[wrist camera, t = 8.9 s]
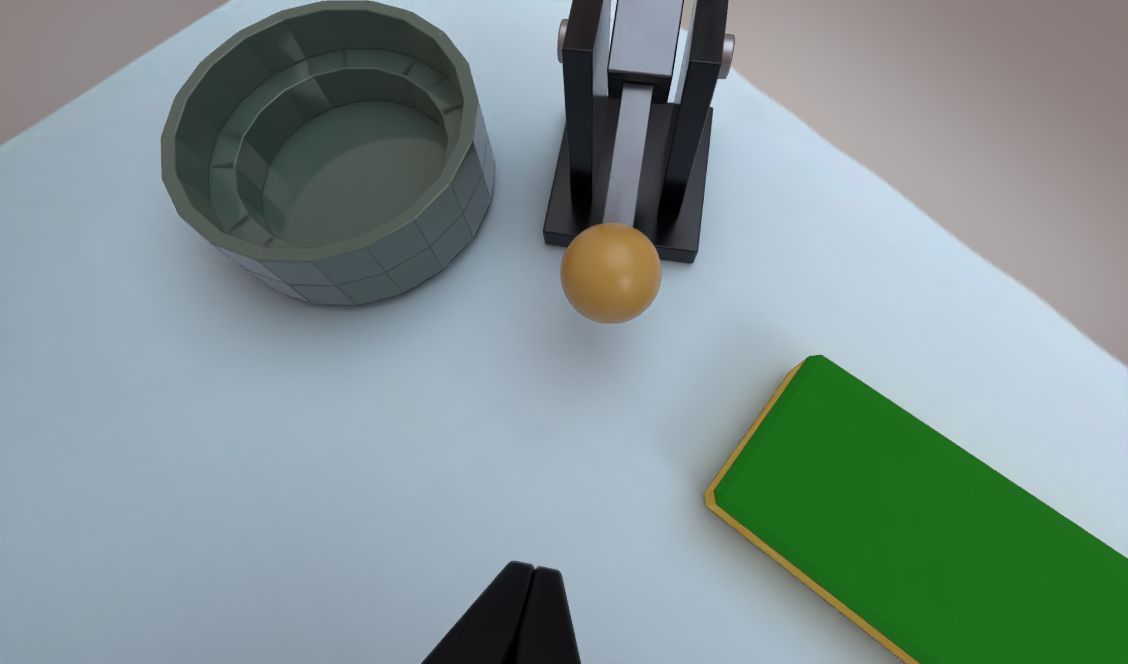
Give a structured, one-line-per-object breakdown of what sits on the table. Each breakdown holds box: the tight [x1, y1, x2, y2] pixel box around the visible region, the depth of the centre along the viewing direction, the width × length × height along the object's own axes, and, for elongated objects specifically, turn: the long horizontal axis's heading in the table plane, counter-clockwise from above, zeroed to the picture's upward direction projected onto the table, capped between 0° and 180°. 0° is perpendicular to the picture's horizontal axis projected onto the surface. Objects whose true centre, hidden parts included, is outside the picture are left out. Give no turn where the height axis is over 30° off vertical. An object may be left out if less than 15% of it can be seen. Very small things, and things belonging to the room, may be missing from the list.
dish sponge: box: [704, 355, 1128, 664], centre depth 20 cm, size 7×14×2 cm, turn 51°
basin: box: [161, 0, 495, 305], centre depth 25 cm, size 13×13×5 cm
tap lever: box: [561, 0, 684, 324], centre depth 20 cm, size 11×4×4 cm, turn 170°
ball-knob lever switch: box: [543, 0, 735, 263], centre depth 23 cm, size 8×7×10 cm
